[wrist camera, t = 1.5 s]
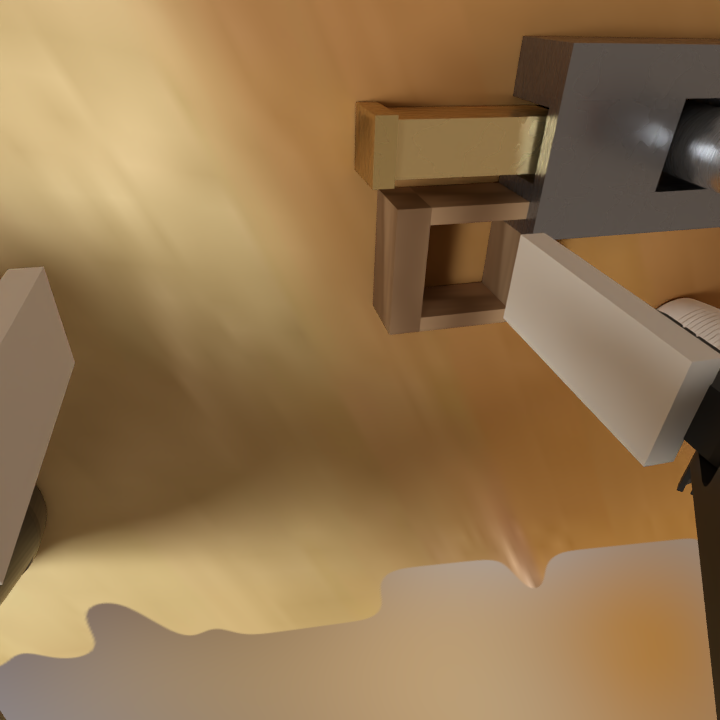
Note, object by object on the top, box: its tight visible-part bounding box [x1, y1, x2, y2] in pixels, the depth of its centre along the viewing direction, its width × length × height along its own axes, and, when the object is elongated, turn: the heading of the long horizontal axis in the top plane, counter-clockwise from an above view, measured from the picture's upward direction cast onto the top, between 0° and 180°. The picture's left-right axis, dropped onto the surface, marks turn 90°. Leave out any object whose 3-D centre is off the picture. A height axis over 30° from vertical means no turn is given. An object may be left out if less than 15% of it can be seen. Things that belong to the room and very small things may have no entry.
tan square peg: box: [355, 102, 549, 190], centre depth 30 cm, size 11×4×4 cm, turn 88°
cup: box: [656, 298, 720, 350], centre depth 41 cm, size 10×10×11 cm
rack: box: [373, 182, 530, 335], centre depth 34 cm, size 10×8×4 cm
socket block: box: [499, 36, 720, 240], centre depth 32 cm, size 14×10×5 cm
